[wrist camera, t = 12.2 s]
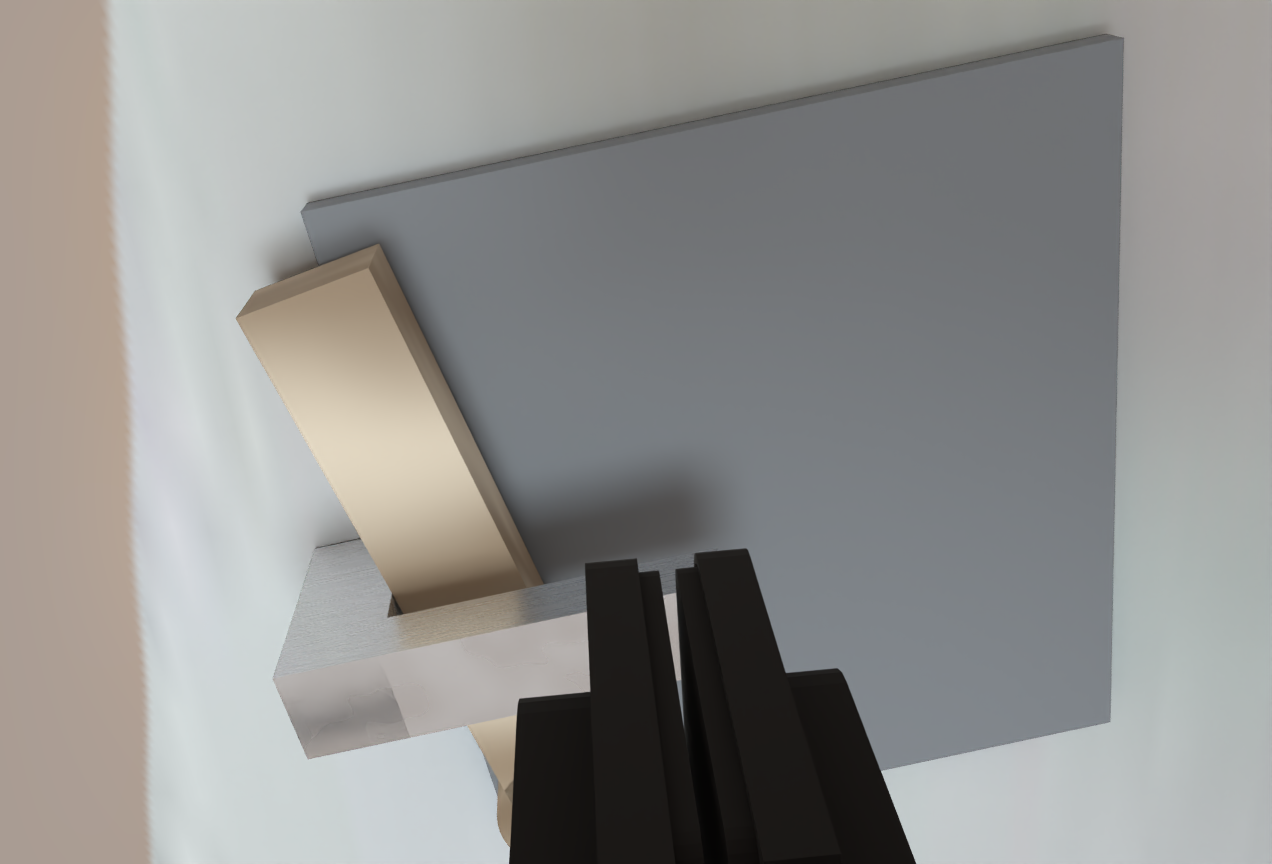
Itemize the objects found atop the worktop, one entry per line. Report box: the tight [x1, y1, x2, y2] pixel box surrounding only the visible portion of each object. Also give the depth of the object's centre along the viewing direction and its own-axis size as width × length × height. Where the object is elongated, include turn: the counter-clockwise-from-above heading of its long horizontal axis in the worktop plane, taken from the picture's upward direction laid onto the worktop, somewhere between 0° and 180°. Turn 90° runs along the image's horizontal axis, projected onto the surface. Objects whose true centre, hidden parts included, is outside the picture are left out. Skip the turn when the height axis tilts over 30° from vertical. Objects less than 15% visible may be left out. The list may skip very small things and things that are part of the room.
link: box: [236, 244, 544, 847], centre depth 25 cm, size 18×4×6 cm, turn 20°
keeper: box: [273, 539, 719, 759], centre depth 26 cm, size 10×2×5 cm, turn 101°
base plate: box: [301, 34, 1124, 796], centre depth 28 cm, size 18×20×1 cm
